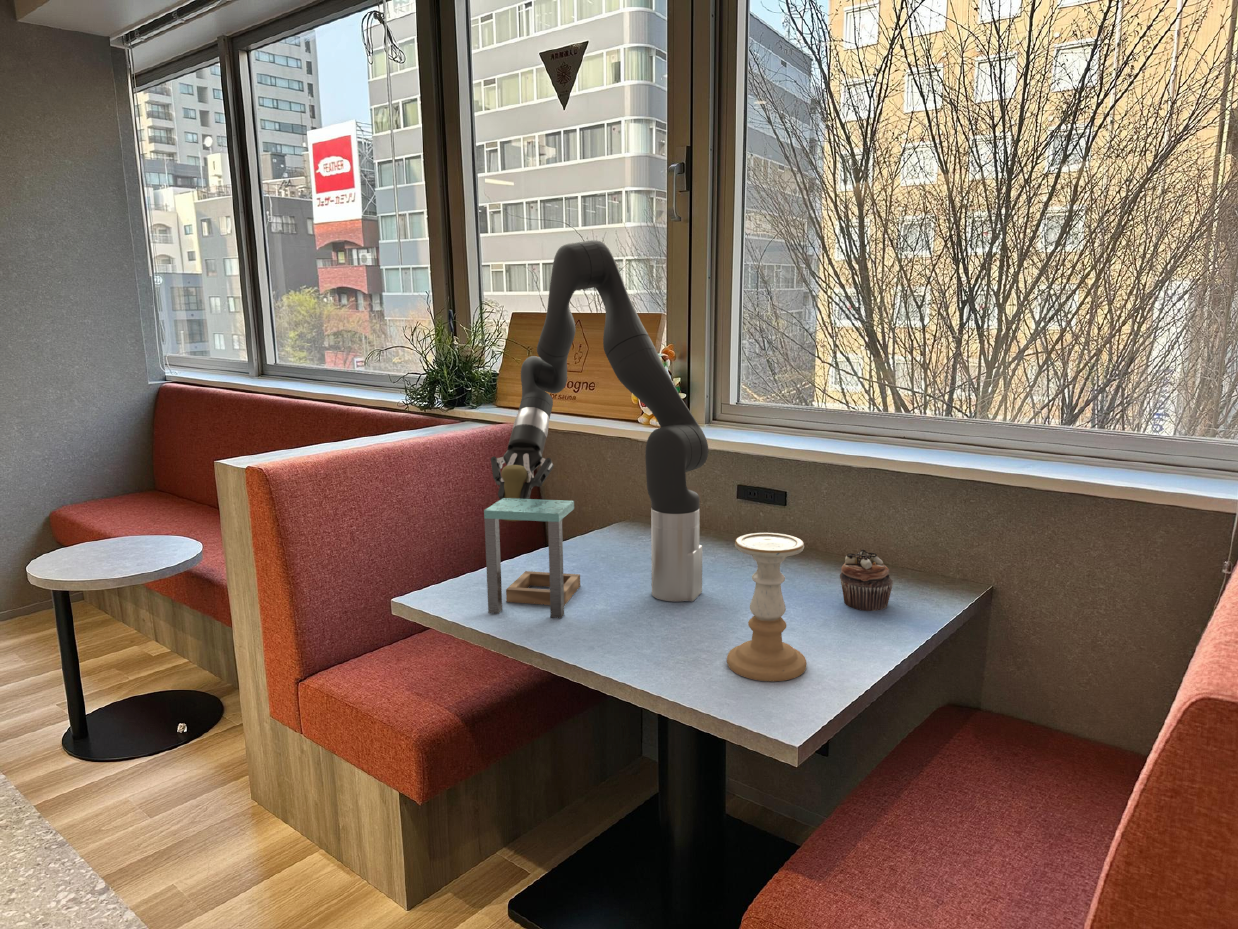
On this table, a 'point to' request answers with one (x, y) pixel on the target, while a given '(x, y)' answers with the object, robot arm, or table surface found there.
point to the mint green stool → (554, 515)
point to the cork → (513, 481)
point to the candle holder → (767, 612)
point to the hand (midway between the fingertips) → (512, 500)
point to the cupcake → (865, 582)
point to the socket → (524, 594)
